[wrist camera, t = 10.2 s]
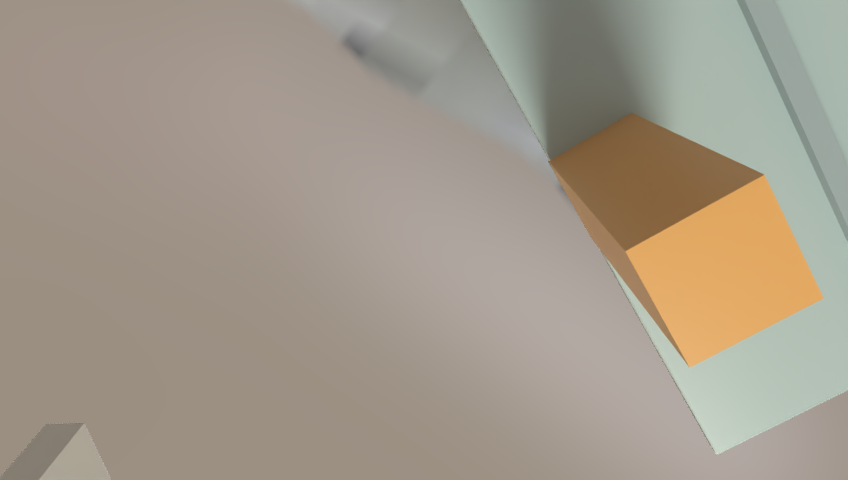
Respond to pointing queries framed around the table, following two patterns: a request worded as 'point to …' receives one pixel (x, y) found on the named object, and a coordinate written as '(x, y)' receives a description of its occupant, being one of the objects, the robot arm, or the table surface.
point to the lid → (703, 181)
